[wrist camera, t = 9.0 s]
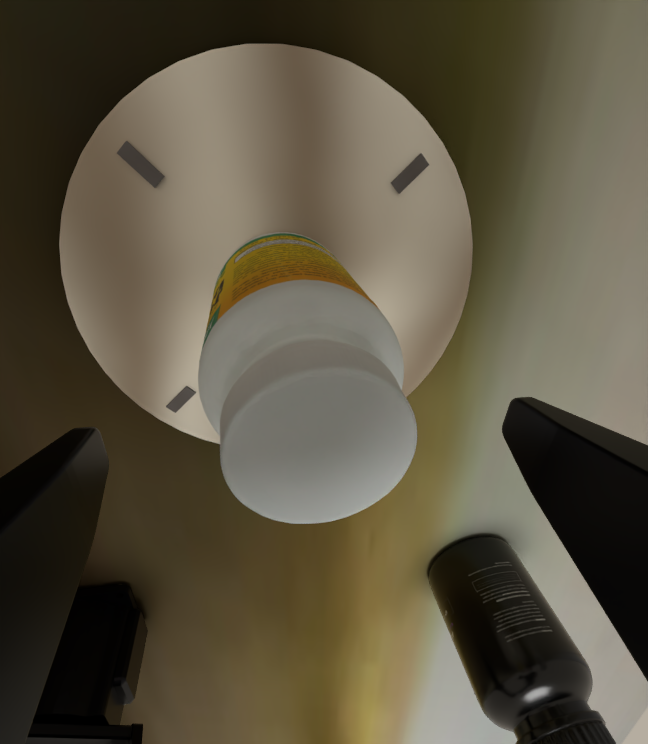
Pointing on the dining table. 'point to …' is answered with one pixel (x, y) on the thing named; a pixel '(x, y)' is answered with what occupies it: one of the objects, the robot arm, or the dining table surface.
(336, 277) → the supplement bottle
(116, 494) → the dining table surface
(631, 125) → the dining table surface
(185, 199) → the turntable
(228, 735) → the dining table surface
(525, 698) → the supplement bottle
